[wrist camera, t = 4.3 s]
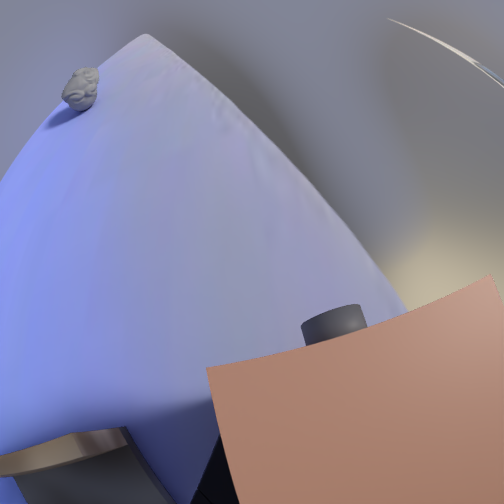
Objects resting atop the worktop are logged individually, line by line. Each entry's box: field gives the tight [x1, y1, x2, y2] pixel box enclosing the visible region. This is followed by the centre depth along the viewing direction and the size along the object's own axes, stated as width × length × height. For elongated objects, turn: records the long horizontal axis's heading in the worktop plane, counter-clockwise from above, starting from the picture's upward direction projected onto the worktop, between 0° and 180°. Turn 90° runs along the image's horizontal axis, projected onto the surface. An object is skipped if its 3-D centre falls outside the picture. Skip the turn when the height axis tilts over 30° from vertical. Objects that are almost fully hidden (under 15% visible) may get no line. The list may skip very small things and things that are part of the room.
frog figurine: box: [62, 67, 99, 111], centre depth 29 cm, size 6×7×7 cm
